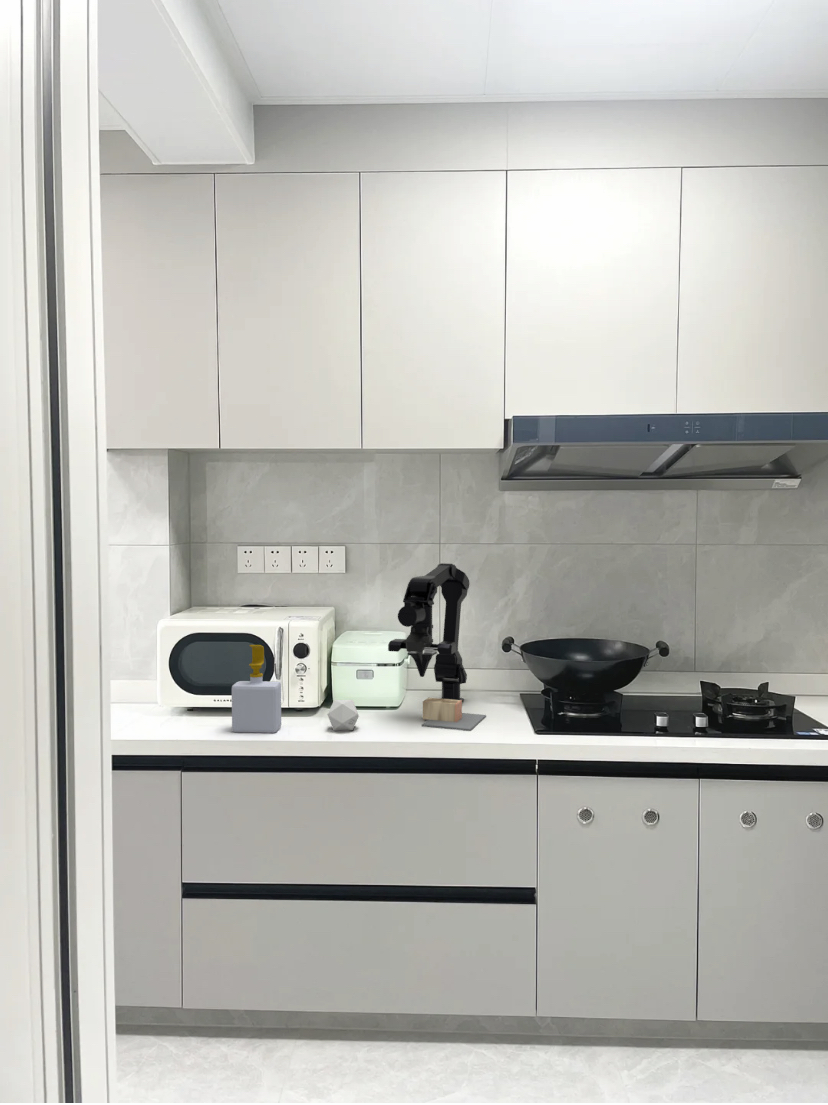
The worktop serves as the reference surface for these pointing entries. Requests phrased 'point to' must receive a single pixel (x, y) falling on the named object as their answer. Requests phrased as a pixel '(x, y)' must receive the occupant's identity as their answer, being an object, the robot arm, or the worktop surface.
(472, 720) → the mat
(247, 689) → the soap bottle
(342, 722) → the die
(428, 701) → the pine block
